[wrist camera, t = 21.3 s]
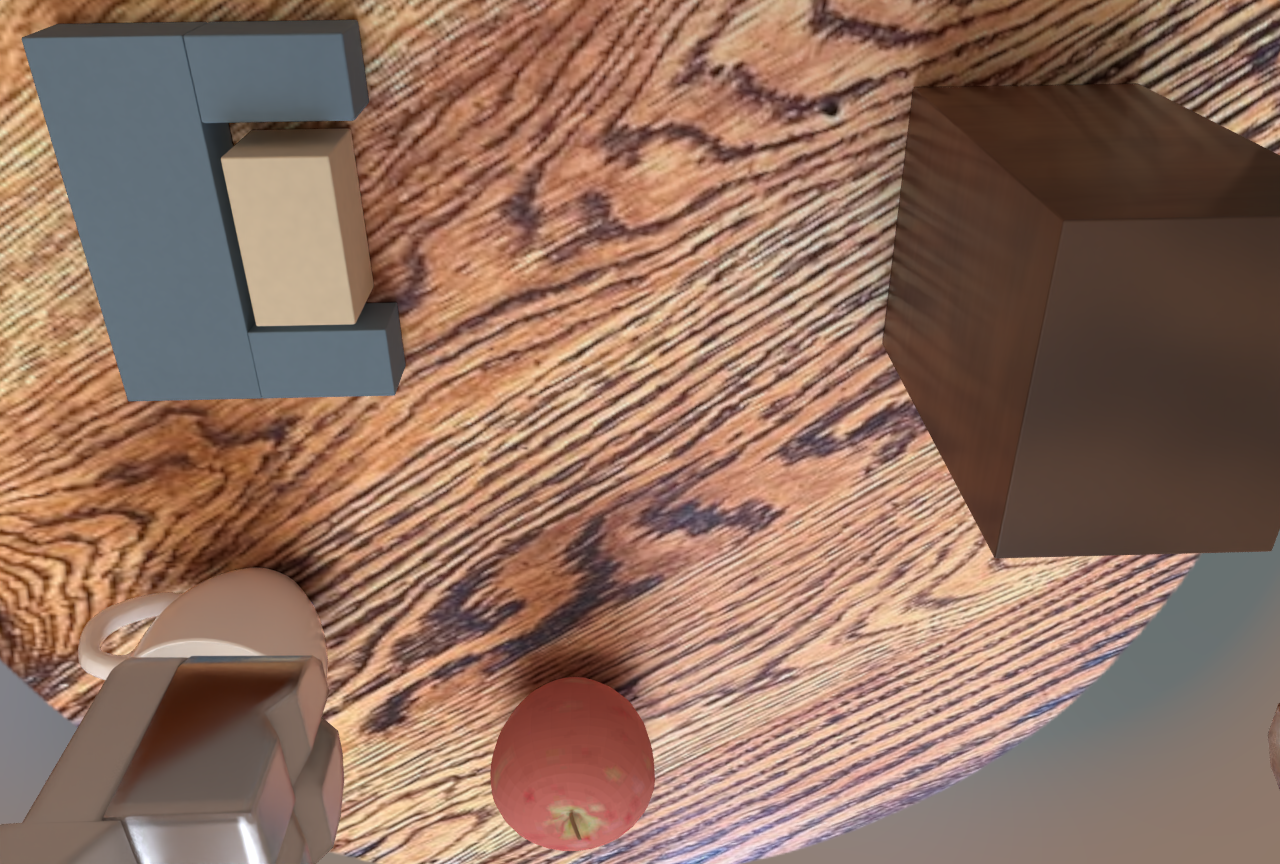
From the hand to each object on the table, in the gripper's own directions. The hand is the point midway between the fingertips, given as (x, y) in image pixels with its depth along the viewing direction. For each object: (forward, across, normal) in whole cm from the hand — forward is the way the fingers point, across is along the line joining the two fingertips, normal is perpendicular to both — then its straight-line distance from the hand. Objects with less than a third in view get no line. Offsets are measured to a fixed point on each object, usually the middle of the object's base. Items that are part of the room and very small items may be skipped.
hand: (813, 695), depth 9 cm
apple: (+31, +4, +31) cm, 44 cm away
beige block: (+31, +12, +6) cm, 34 cm away
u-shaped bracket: (+31, +15, +6) cm, 35 cm away
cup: (+31, +19, +24) cm, 44 cm away
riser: (+31, -13, +7) cm, 34 cm away
